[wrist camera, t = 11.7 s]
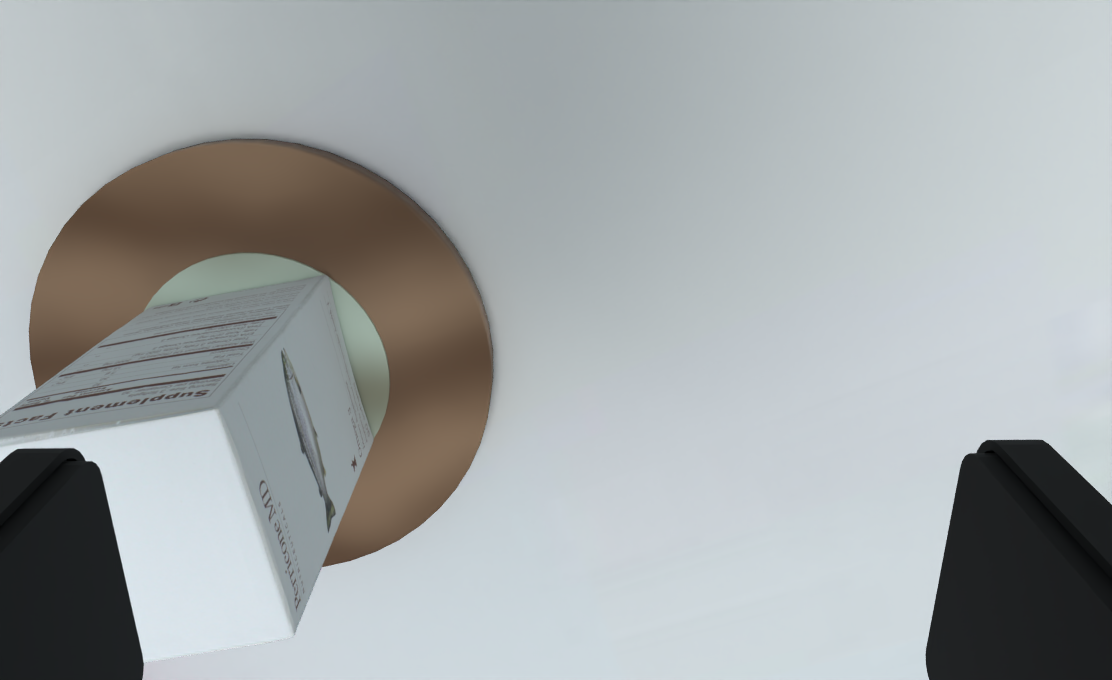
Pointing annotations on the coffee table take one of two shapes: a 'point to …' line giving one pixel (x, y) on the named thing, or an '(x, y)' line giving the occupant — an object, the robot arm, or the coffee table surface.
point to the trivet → (283, 256)
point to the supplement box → (214, 457)
